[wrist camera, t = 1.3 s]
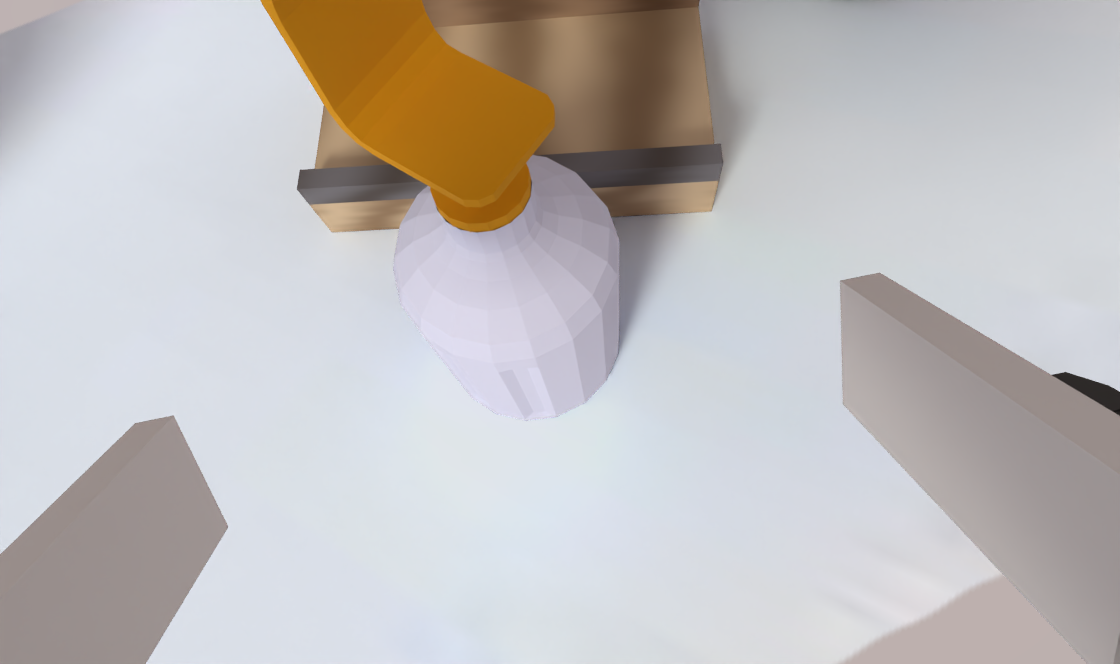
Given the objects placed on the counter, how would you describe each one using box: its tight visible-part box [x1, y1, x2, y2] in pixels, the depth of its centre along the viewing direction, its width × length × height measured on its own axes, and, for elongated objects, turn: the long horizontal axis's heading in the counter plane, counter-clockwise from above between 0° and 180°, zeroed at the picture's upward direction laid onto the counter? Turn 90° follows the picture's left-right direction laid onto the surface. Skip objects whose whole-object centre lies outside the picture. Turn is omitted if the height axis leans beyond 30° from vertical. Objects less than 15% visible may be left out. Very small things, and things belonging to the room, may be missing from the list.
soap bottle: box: [261, 0, 619, 421], centre depth 24 cm, size 9×9×25 cm
